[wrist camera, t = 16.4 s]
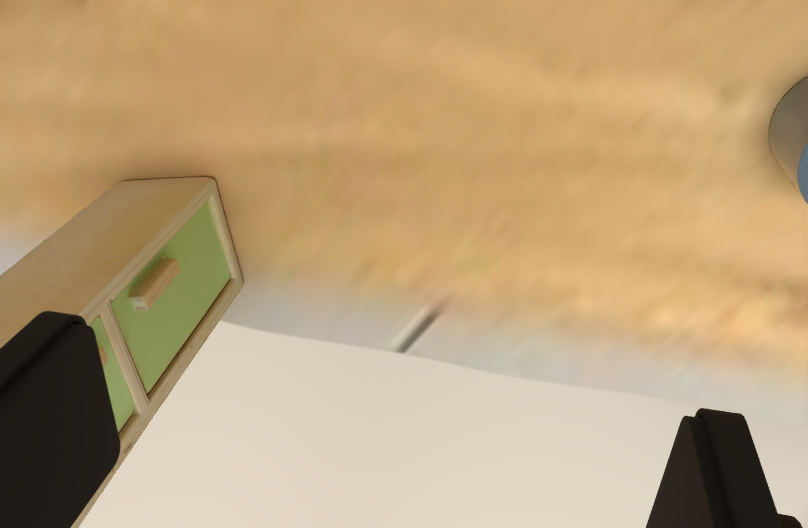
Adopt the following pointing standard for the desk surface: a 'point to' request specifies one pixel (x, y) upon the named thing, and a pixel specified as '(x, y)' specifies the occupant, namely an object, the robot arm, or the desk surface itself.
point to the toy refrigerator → (133, 289)
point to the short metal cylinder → (792, 136)
